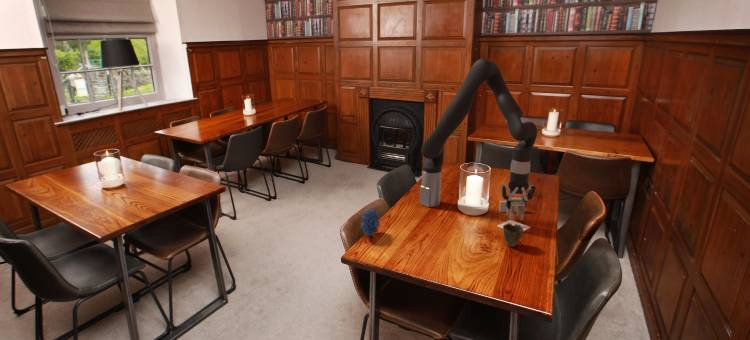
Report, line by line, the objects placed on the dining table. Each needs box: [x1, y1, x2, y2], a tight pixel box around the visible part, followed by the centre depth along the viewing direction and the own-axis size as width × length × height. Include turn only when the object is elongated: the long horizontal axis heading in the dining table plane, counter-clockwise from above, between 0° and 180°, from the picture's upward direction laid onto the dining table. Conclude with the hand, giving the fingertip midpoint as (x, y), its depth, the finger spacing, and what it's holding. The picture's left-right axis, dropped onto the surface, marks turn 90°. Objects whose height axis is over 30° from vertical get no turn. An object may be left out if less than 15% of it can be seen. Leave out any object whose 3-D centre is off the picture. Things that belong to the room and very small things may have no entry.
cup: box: [502, 223, 524, 248], centre depth 156 cm, size 8×7×8 cm
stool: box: [506, 197, 525, 221], centre depth 171 cm, size 10×6×10 cm
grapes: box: [360, 208, 381, 237], centre depth 164 cm, size 12×7×12 cm, turn 145°
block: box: [498, 200, 527, 213], centre depth 188 cm, size 2×12×5 cm, turn 89°
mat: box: [496, 219, 531, 233], centre depth 173 cm, size 10×10×1 cm
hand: (515, 207), depth 170 cm, fingers closed on stool, 5 cm apart
